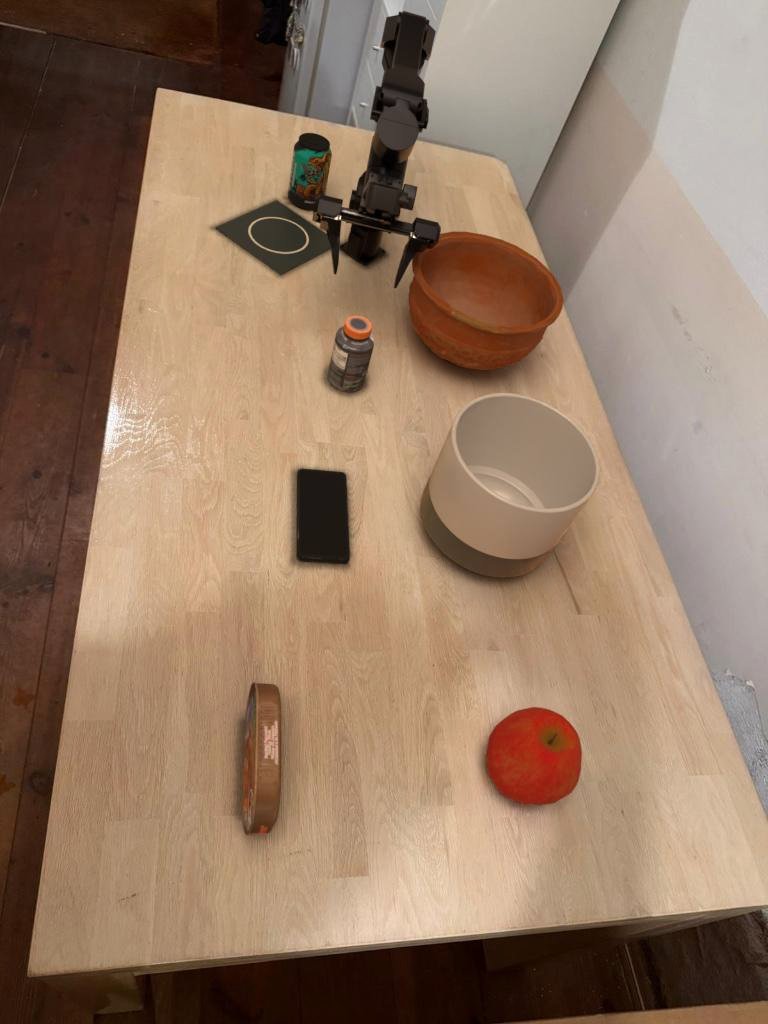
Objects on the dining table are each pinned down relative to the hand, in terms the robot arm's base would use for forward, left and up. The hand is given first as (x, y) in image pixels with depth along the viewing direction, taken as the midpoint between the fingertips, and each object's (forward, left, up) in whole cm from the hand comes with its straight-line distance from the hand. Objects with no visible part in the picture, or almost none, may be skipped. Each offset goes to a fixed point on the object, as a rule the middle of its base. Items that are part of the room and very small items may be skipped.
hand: (365, 281), depth 111 cm
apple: (+39, +58, -14) cm, 71 cm away
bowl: (-16, +12, -14) cm, 24 cm away
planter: (+14, +36, -14) cm, 41 cm away
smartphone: (+29, +19, -14) cm, 37 cm away
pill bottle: (+6, +4, -14) cm, 15 cm away
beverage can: (-26, -33, -14) cm, 44 cm away
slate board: (-13, -28, -13) cm, 34 cm away
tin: (+59, +36, -14) cm, 70 cm away
